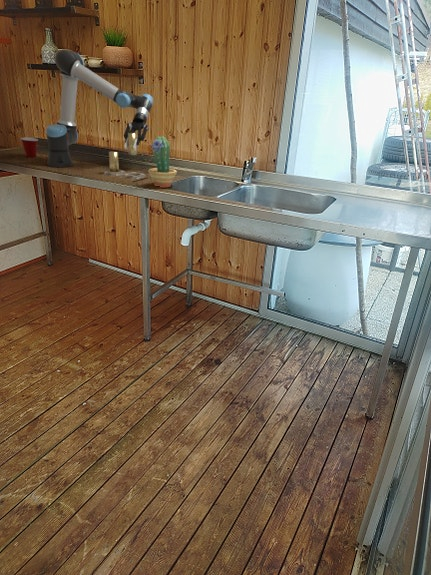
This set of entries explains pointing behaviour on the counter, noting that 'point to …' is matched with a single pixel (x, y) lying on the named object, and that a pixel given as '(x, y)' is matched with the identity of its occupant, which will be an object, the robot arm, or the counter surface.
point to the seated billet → (113, 162)
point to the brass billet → (131, 143)
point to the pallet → (125, 175)
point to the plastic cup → (30, 146)
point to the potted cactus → (162, 163)
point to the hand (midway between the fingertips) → (129, 148)
